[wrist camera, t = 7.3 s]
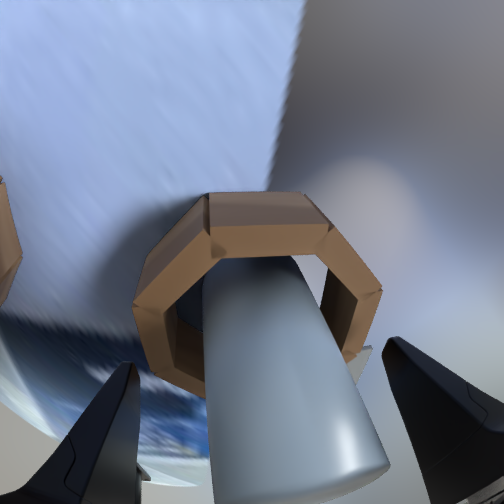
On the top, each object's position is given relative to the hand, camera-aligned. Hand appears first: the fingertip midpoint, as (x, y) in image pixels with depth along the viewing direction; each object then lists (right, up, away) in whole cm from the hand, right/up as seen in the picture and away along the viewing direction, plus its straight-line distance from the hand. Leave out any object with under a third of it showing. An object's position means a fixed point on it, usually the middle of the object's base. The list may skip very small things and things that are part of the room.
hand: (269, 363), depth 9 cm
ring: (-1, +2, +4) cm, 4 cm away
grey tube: (-1, +2, +4) cm, 4 cm away
